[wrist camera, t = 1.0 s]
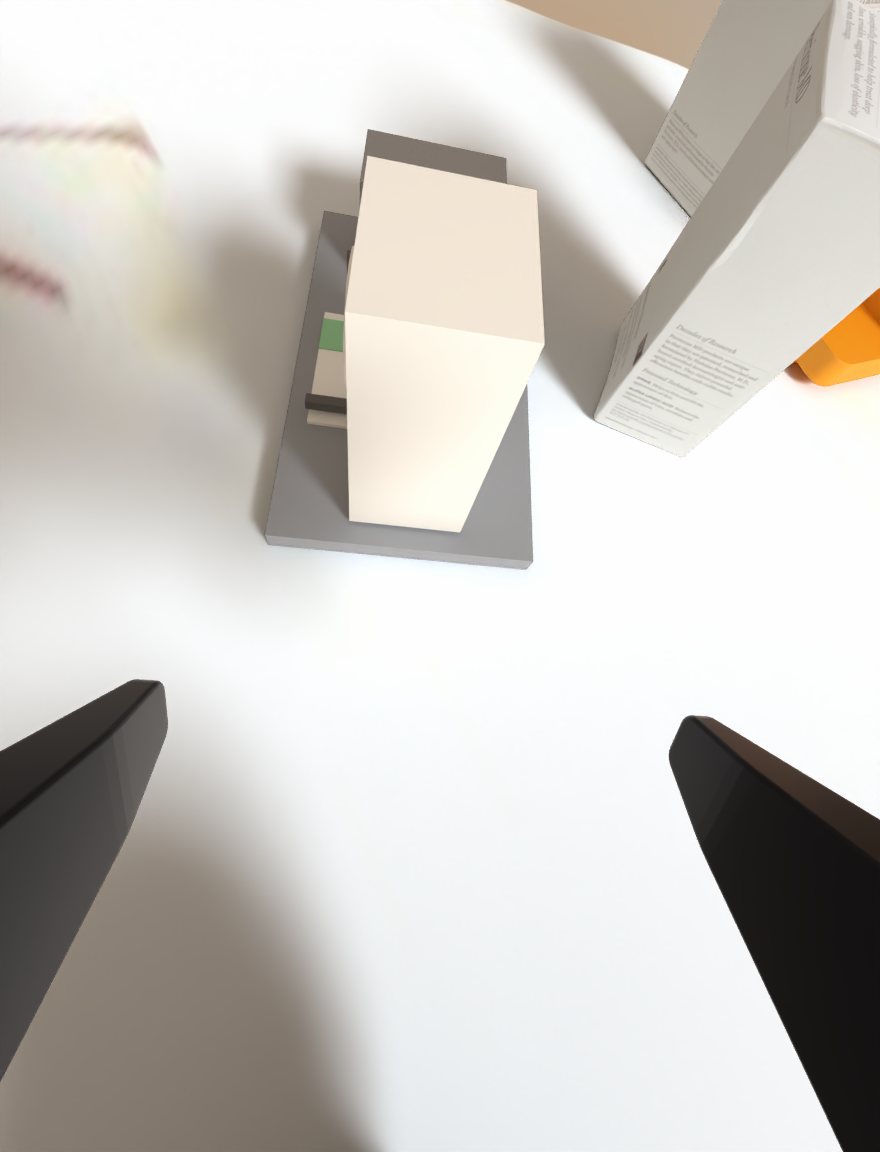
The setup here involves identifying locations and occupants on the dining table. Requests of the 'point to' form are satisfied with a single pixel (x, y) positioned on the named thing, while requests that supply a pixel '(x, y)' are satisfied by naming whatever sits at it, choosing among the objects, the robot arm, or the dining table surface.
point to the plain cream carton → (434, 339)
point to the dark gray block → (432, 157)
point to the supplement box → (729, 89)
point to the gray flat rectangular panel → (320, 452)
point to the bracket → (847, 347)
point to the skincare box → (762, 248)
